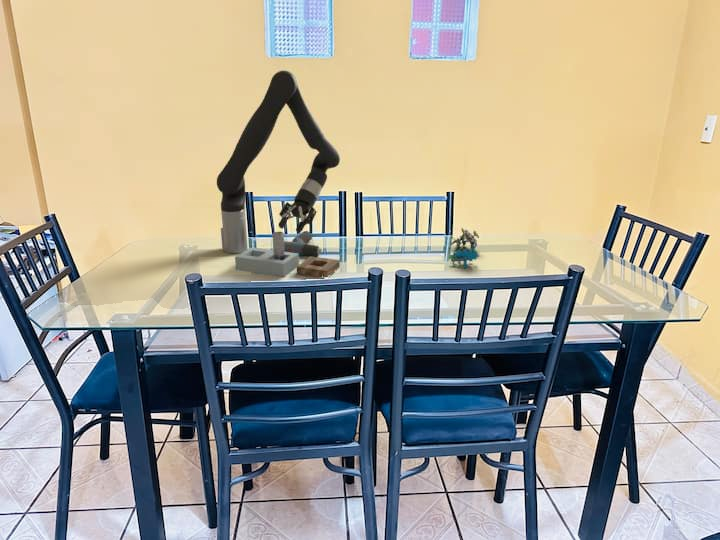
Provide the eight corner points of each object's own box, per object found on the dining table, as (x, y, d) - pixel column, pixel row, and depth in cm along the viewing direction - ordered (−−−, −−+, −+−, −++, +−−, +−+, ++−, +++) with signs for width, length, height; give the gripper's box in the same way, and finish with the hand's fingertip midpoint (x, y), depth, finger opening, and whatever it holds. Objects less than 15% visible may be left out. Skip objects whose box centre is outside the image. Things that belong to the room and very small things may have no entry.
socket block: (296, 274, 178) (296, 266, 177) (310, 263, 189) (310, 256, 188) (327, 278, 175) (327, 271, 174) (339, 267, 185) (339, 260, 184)
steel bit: (272, 270, 182) (270, 234, 176) (277, 266, 185) (275, 231, 180) (282, 271, 180) (280, 235, 175) (287, 268, 184) (285, 232, 179)
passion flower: (471, 263, 208) (482, 246, 199) (447, 258, 208) (456, 241, 198) (471, 242, 215) (481, 225, 205) (447, 237, 214) (456, 220, 204)
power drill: (335, 244, 212) (318, 260, 194) (295, 240, 217) (275, 255, 199) (335, 233, 210) (318, 247, 192) (294, 229, 215) (275, 242, 197)
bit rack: (235, 269, 182) (234, 256, 180) (252, 259, 192) (252, 247, 191) (284, 276, 176) (283, 263, 174) (299, 265, 186) (298, 253, 185)
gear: (477, 258, 193) (478, 246, 184) (478, 272, 191) (479, 261, 182) (449, 259, 195) (448, 248, 186) (450, 273, 193) (448, 262, 184)
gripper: (289, 185, 187) (269, 221, 183) (318, 190, 180) (298, 227, 175) (299, 197, 193) (280, 231, 189) (327, 202, 186) (308, 238, 181)
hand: (288, 229), depth 182 cm, fingers open, 8 cm apart
